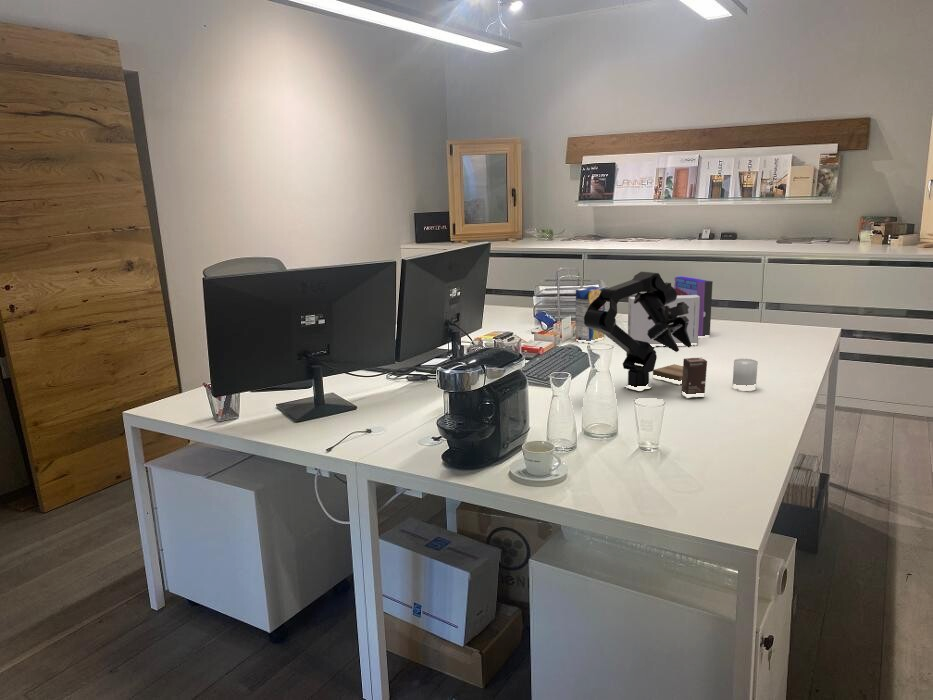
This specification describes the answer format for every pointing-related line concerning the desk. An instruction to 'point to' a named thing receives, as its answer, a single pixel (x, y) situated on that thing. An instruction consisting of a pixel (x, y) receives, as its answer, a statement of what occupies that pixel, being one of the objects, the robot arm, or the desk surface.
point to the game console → (642, 324)
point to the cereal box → (705, 292)
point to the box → (694, 375)
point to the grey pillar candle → (745, 372)
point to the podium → (670, 372)
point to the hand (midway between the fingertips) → (684, 348)
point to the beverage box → (582, 304)
